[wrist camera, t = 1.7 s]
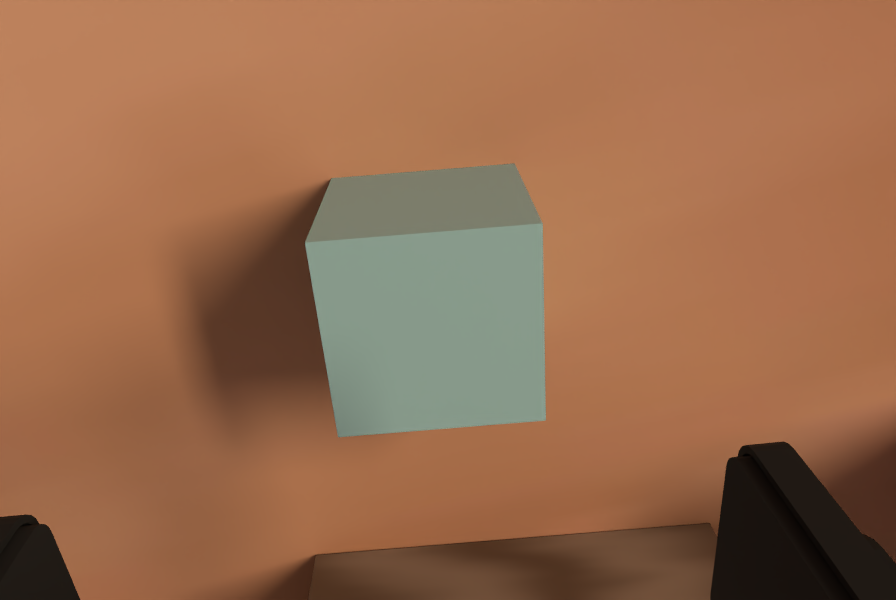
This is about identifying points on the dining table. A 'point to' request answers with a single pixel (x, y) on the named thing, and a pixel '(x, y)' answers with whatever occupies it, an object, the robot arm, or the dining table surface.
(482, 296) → the teal block
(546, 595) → the walnut riser
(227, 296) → the dining table surface
